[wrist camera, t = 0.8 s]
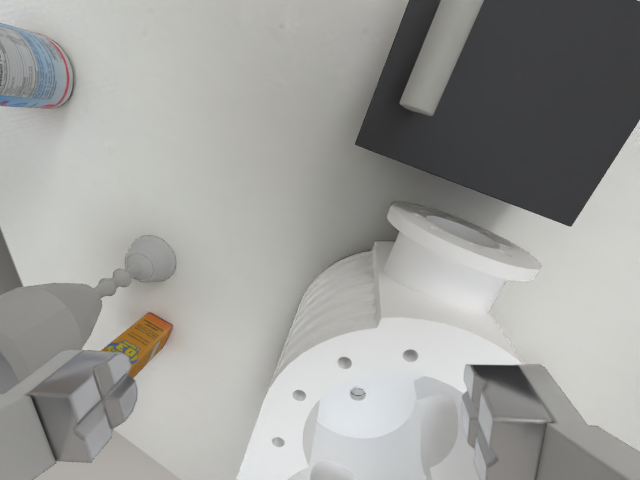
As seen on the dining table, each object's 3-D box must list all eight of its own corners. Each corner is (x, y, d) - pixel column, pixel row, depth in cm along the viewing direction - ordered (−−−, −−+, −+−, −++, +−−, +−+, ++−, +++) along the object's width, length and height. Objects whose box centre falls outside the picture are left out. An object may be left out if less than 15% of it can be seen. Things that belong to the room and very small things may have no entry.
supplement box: (175, 324, 38) (113, 389, 29) (164, 346, 39) (100, 415, 30) (148, 308, 38) (76, 369, 29) (138, 331, 39) (65, 396, 30)
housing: (345, 174, 31) (330, 210, 18) (583, 259, 31) (751, 361, 17) (248, 446, 42) (195, 593, 29) (421, 510, 42) (446, 688, 29)
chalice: (116, 223, 35) (-116, 312, 18) (179, 225, 35) (-1, 321, 18) (128, 289, 38) (-69, 423, 21) (187, 292, 37) (35, 435, 20)
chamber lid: (355, 144, 23) (352, 148, 18) (434, -67, 19) (458, -134, 14) (564, 223, 22) (618, 250, 18) (687, 28, 19) (800, -7, 14)
